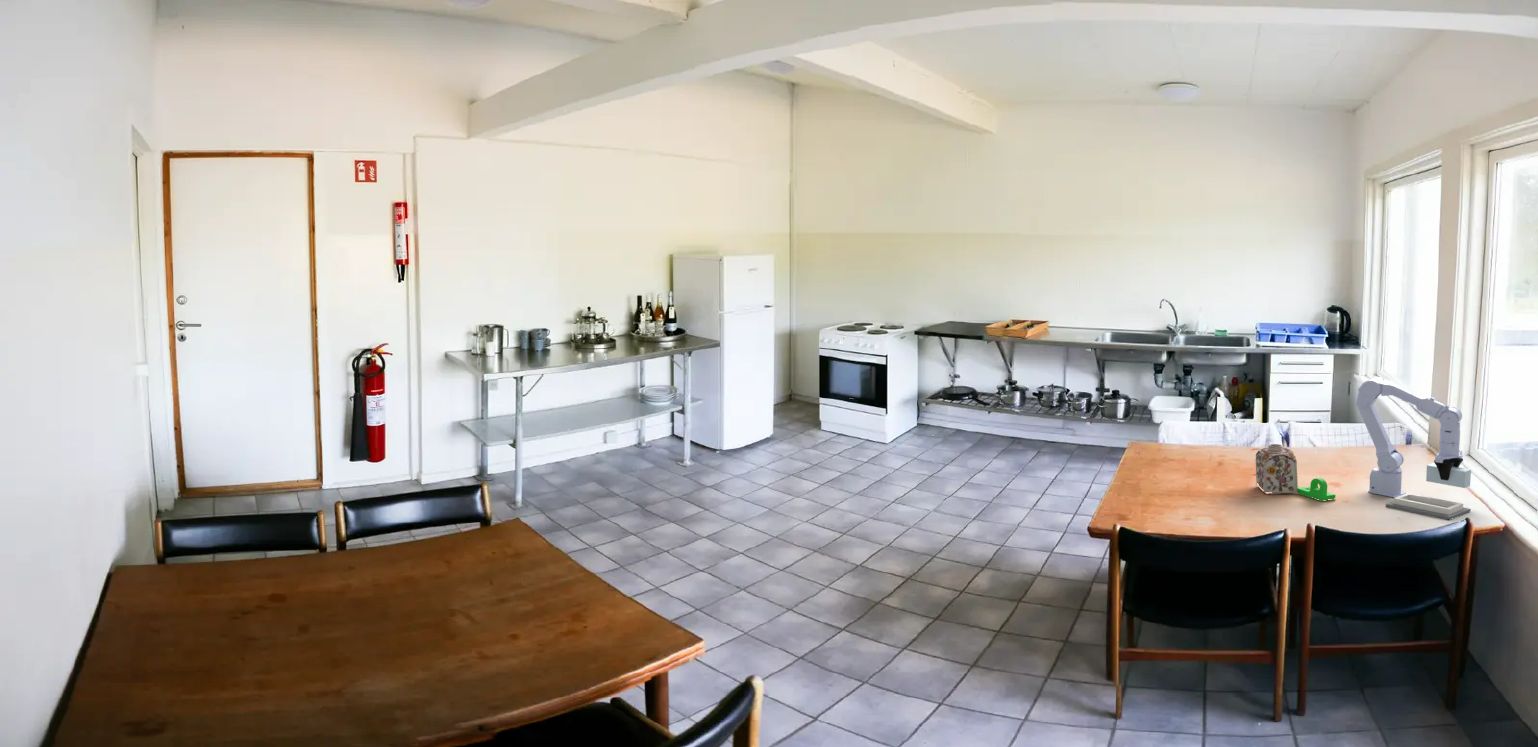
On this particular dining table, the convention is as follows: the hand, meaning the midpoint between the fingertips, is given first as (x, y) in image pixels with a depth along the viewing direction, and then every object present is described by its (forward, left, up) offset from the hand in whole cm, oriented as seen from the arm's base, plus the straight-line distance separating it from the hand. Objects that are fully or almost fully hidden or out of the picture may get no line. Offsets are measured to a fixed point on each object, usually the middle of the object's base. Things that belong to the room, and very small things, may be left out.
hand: (1447, 478), depth 319 cm
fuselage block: (0, 0, -2) cm, 2 cm away
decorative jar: (-45, -29, -9) cm, 54 cm away
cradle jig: (0, -13, -9) cm, 16 cm away
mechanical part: (-32, -26, -9) cm, 42 cm away
